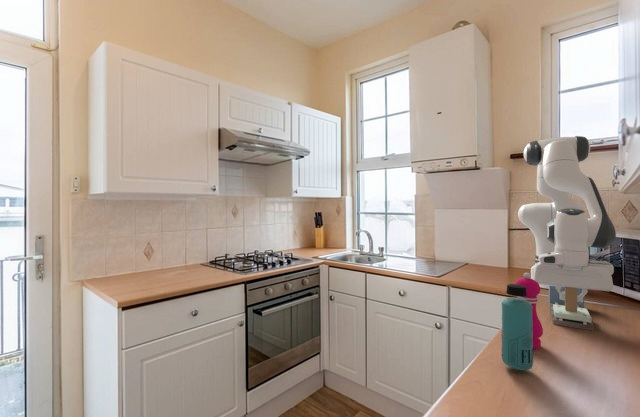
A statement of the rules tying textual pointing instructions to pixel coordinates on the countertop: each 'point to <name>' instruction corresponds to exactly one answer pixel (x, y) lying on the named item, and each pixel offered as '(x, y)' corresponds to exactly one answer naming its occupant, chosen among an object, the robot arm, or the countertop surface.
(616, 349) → the countertop surface
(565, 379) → the countertop surface
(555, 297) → the blue side pieces
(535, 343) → the pepper mill
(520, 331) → the beverage bottle
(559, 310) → the carriage
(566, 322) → the track
